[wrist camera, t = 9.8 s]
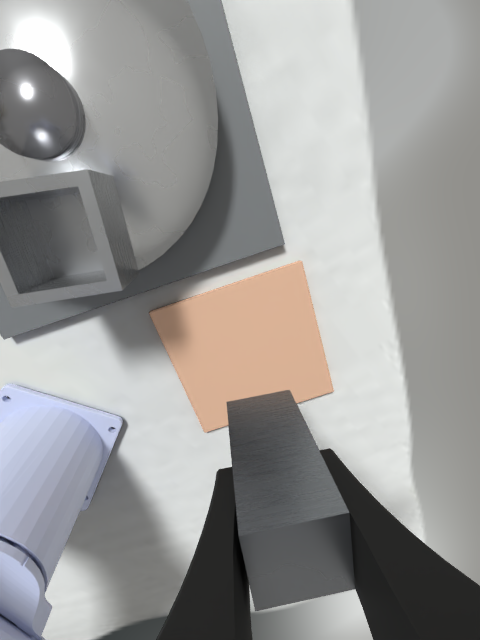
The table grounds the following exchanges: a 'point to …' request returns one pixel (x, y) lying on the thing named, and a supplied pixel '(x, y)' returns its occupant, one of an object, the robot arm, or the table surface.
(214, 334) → the mat
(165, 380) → the table surface
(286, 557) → the dark grey rectangular block
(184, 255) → the base plate
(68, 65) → the metal pot lid
